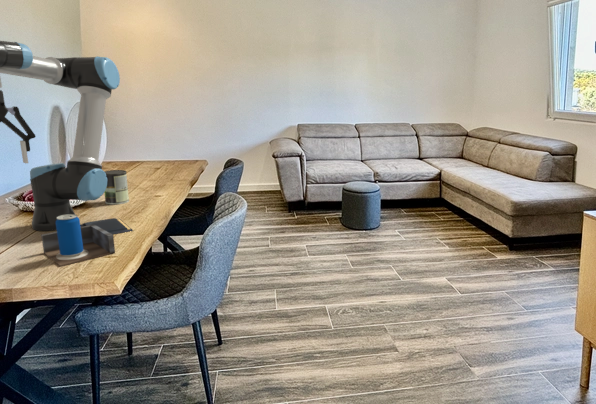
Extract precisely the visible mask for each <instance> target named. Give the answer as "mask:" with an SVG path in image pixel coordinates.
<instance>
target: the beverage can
mask: <svg viewBox="0 0 596 404" xmlns="http://www.w3.org/2000/svg"><path fill="white" fill-rule="evenodd" d="M80 225H81V222H80V217H78V215H77V214H76V213H75V214H66V215H61V216H58V217H57V220H56V229H57V230H56V232H57V236H58V243H59V250H60V254H61V255H63V256H64V257H73V256H77V255H79V254H81V252H83V243H82V235H81V228H80V227H81V226H80Z"/></svg>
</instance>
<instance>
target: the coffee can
mask: <svg viewBox="0 0 596 404" xmlns="http://www.w3.org/2000/svg"><path fill="white" fill-rule="evenodd" d="M103 171H104V170H103ZM104 172H105V173H106V177H107V187H106V190H105V192H104V193H103V194H104V200H105V205H113V206H115V205H122V204H128V203H129V201H130V198H129V187H128V186H129V185H128V179H127V176H128V175H127V170H123V169H111V170H105V171H104Z"/></svg>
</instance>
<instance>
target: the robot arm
mask: <svg viewBox="0 0 596 404" xmlns="http://www.w3.org/2000/svg"><path fill="white" fill-rule="evenodd" d="M0 74H3V75H4V74H5V75H10V76H16V77H22V78H28V79H35V80H41V81H44V82H45V83H46V84H49V85H55V86H60V87H64V88H67V89H75V90H77V92H78V93H79V94H80V100H79V106H78V113H77V114H78V116H77V122H76V130H75V135H74V136H75V138H74V145H73V152H72V153H73V154H72V157H71V158H70V159H68V160H67V161H66V162H67V163H66V165H65V163H64V162H59V163H51V164H45V165H41V166H36V167H33V168H30V171H29V176H30V178H29V181H30V186H31V193H32V198H33V203H34V211H33V214H32V220H31V227H32V230H34V231H39V232H44V231H45V232H46V231H47V232H48V231H57V229H56V220H57V217H58V216H61V215H66V214H76V213H75V211H74V209H73V207H72V205H71V202H70V201H82V202H83V201H84V202H87V201H96V200H98V199H100V198H101V197H102V196H103V195H104V194H105V193H104V192H105V190H106V187H107V177H106V173H105V172H104V170H103V169H102V168H103V165H102V164H101V162H99V158H100V151H101V150H100V149H101V142H102V133H103V126H104V118H105V112H106V111H105V110H106V103H107V100H108V99H109V98H111V96H112V90H116V89H117V88H118V87H119V86H120V84H121V83H120V79H121V78H120V72H119V70H118V67H117V65H116V64H115V62H114V60H112V59H110V58H109V57H107V56H105V57H104V56H89V57H87V56H84V57H80V56H79V57H61V58H59V57H53V56H48V57H39V56H35V55H33V52H32V50H31V48H30V47H29V46H28V45H26V44H24V43H20V42H17V41H8V40H7V41H6V40H0ZM1 79H2V78H1V77H0V123H2V124H4V125H5V126H6V127H7V128H9V129H10V130H11V131H12V132H14V133H15V134H16V135H17V136H18V137H19V138H21V140H19V143H20V144H19V145H20V150H21V151H20V152H21V156H22V163H23V164H29V159H28V158H29V157H28V152H30V151H31V145H30V141H31V140H32V139H35V138H36V134H35V133H34V131H33V130H32V129H31V127H30V126H29V124H28V123H27V122H26V120H25V119H24V117H23V116H22V115H21V112H20V109H19V107H18V106H12V107H11V106H10V107H7V106H6V103H5V97H4V96H5V95H4V92H3V91H2V87H3V84H2V80H1ZM8 112H9V113H10V115H12V116H14V118H15V120H17V122H18V123H19V125H20V126H21V127H22V129H23V131H25V133H24V132H23V131H22V130H20V128H19V127H17V126H16V125H15V124H14V123H12V122H11V120H9V119H8V118H7V117H6V116H7V114H8Z"/></svg>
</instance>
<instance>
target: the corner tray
mask: <svg viewBox="0 0 596 404" xmlns="http://www.w3.org/2000/svg"><path fill="white" fill-rule="evenodd" d="M80 228H81V235H82V243H83V252H81V254H79V255H77V256H73V257H64V256H63V255H61V254H60V250H59V243H58V236H57V231H54V232H49V233H43V234H41V236H40V237H41V243H42V249H43V250H42V251H43V254H45V255H46V256H47V257H48V258H49V259H50V260H51V261H52V262H54V263H55V264H56V265H58V266H59V268H61V267H65V266H69V265H73V264H77V263H82V262H85V261H89V260H93V259H97V258H101V257H105V256H108V255H113V254H116V247H115V239H114V235H112V234H111V233H109V232H107V231H105V230H103V229H102V228H100V227H98V226H96V225H94V224H93V225H88V226H83V227H81V226H80Z"/></svg>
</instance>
